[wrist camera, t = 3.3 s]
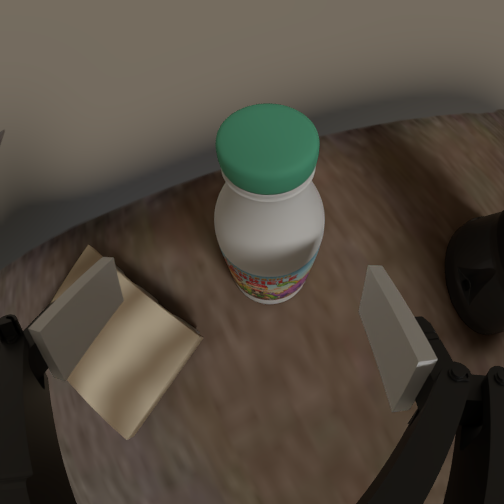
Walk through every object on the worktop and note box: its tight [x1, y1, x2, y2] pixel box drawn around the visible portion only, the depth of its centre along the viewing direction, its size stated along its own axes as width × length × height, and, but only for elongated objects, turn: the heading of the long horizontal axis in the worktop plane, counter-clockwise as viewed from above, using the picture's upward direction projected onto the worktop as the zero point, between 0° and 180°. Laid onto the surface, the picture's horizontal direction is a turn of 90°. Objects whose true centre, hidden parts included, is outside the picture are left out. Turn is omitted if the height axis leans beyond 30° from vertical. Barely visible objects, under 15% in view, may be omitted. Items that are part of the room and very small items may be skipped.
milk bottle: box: [214, 104, 325, 304], centre depth 21 cm, size 8×8×20 cm
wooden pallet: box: [51, 245, 204, 440], centre depth 26 cm, size 16×13×4 cm
